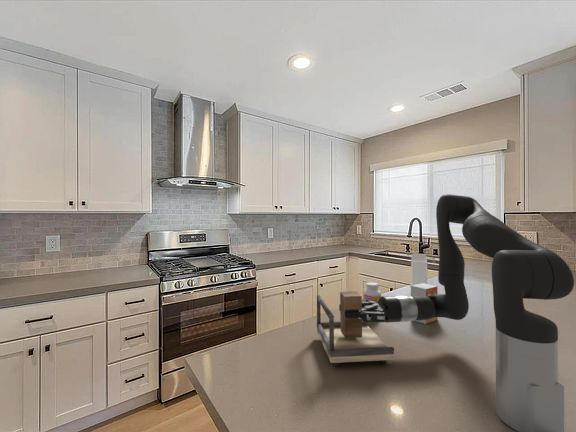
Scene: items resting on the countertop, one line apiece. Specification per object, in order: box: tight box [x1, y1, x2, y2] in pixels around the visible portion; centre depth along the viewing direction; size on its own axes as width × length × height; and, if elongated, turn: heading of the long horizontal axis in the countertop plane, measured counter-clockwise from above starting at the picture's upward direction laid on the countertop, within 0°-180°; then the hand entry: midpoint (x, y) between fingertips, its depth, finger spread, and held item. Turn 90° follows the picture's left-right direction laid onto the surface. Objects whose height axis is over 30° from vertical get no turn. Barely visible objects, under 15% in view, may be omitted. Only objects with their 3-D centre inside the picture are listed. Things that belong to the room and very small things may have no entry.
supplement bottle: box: [363, 281, 382, 303], centre depth 112 cm, size 7×7×13 cm
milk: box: [410, 253, 428, 287], centre depth 129 cm, size 6×6×22 cm
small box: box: [410, 283, 439, 325], centre depth 107 cm, size 8×6×13 cm
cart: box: [316, 294, 395, 367], centre depth 84 cm, size 20×17×14 cm
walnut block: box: [339, 290, 363, 338], centre depth 84 cm, size 5×5×12 cm
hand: (342, 310), depth 83 cm, fingers closed on walnut block, 5 cm apart
